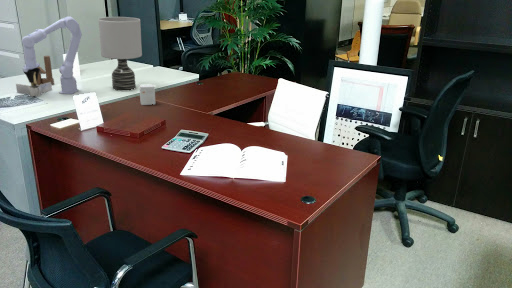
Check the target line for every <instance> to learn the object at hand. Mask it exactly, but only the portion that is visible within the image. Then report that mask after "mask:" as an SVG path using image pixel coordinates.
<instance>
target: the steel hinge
mask: <svg viewBox="0 0 512 288" xmlns="http://www.w3.org/2000/svg"><path fill="white" fill-rule="evenodd" d="M15 87H16V88H15V89H16V93H19V94H24V95H25V94H26V95H28V96H29V95H30V96H29V97H33V96H36V97H41V96H42V95H43V94H44V93H47V92H48V93H49V92H51V91H53V85H52V84H51V82H48V83H44V84H41V85H36V86H31V85H26V84H21V83H15Z"/></svg>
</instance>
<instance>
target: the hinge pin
mask: <svg viewBox="0 0 512 288" xmlns="http://www.w3.org/2000/svg"><path fill="white" fill-rule="evenodd" d="M35 73H36V72H34V83H30V86H36V85H37V82H36V76H35Z"/></svg>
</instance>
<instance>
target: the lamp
mask: <svg viewBox="0 0 512 288" xmlns="http://www.w3.org/2000/svg"><path fill="white" fill-rule="evenodd" d="M97 21H98V29H99V30H98V33H99V44H100V55H101V57H102V58H105V59H112V60H117V66H116V68H114V69H113V71H112V72H111V83H112V84H111V85H112V89H113V90H114V89H115V90H114V91H118V90H129V91H132V90H131V89H133V90H135V89H136V86H137V84H136V75H135V74H136V73H135V71H134V70H133V69H132V68H130V66H129V63H128V60H130V59H137V58H140V57H142V56H143V51H142V49H143V48H142V47H143V46H142V30H141V27H142V25H141V19H140V18H137V17H131V16H130V17H129V16H128V17H127V16H105V17H98V20H97ZM134 88H135V89H134Z"/></svg>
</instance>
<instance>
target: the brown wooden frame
mask: <svg viewBox="0 0 512 288" xmlns="http://www.w3.org/2000/svg"><path fill="white" fill-rule="evenodd" d="M43 61H44V62H43V63H44V69H43V67H41V66H40V67H37V68H40V71H39V74H38V80H37V81H36V82H37V85H41V84H44V83H48V82H51V84H52V86H53V85H54V84H55V79H54V77H53V71H52V69H53V68H52V61H51V56H50V55H43ZM42 75H45V78H44V77H43V78H42Z"/></svg>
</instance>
